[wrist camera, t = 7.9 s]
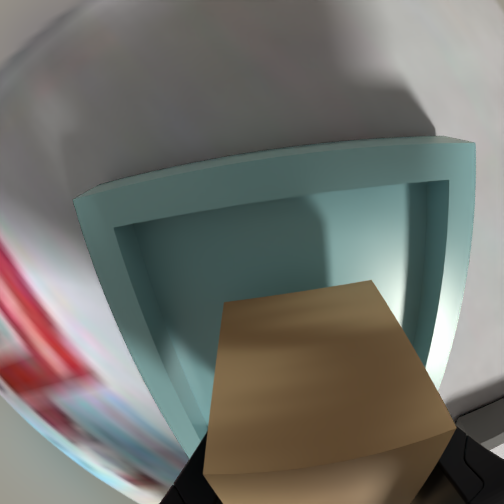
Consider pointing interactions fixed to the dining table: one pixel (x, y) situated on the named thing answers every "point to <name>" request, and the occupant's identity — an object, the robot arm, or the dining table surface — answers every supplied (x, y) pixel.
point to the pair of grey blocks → (485, 424)
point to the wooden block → (321, 402)
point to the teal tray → (279, 249)
